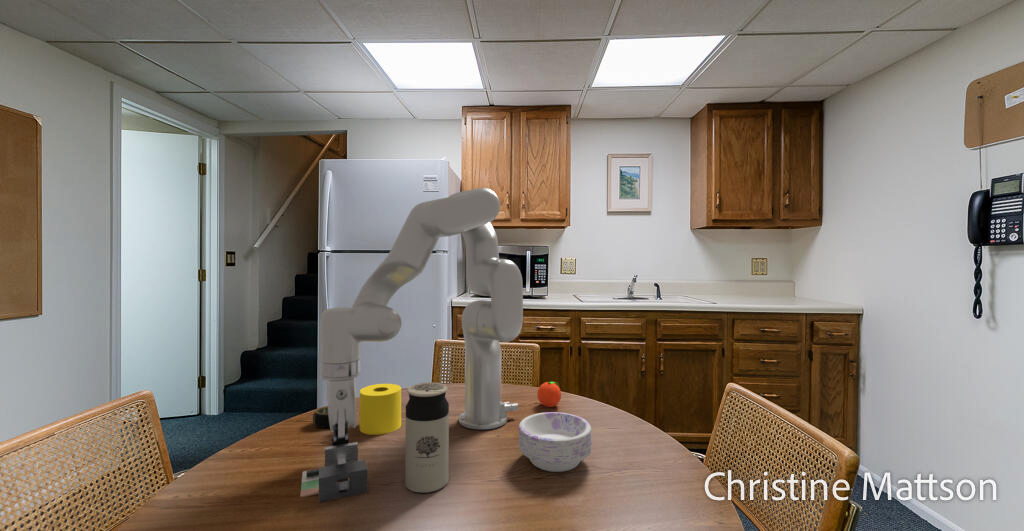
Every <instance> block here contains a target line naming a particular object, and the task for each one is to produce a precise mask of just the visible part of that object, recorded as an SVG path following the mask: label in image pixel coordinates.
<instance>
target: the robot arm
mask: <svg viewBox="0 0 1024 531" xmlns="http://www.w3.org/2000/svg"><path fill="white" fill-rule="evenodd" d="M500 211H501V202H500V198H499V197H498V195H497V194H496V193H495V191H493V189H490V188H487V187H479V188H474V189H468V190H464V191H458V192H455V193H452V194H451V195H449V196H447V197H443V198H438V199H432V200H428V201H427V200H426V201H422V202H420V203H417V204H416V205H414V207H413V208H412V209H411V211H409V214H408V215H407V218H406V219H405V221H404V223H403V226H402V228H401V229H400V232H399V233H398V235H397V238H396V239H395V241H394V243H393V245H392V247H391V249H390V250H389V253H388V254H387V256H386V257H385V259H383V261H382V262H381V263H379V265H378V267H377V268H376V269H375V270H374V271H373V273H372V274H371V275H369V277H368V279H366V281H365V282H364V284H363V286H362V287H361V288H360V291H359V293H358V295H357V296H356V298H355V300H354V302H353V304H352V305H351V307H346V306H345V307H342V306H341V307H333V308H326V309H325V310H324V311H322V312H321V315H320V379H321V380H323V381H326V385H327V386H326V394H327V395H326V396H327V397H326V399H327V400H326V401H327V402H326V403H327V407H328V416H329V424H330V426H329V429H330V431H332V432H333V433H332V438H331V446H336V445H342V444H348V443H350V436H349V428H352V429H355V428H356V427H357V396H356V395H357V392H356V390H357V389H356V388H357V386H356V378H357V377H359V376H360V375H361V342H376V343H381V342H387V341H389V340H392V339H394V338H395V337H396V336H397V335H398V334H399V333H400V331H401V328H402V318H401V316H400V314H399V312H397V311H396V310H395V309H393V308H392V307H390V306H388V305H389V303H390V301H391V299H392V298H393V296H394V295H395V294H396V293H397V291H399V290H400V289H401V288H402V287H403V286H405V285H406V284H408V283H409V282H411V281H412V280H415V279H416V278H418V277H419V276H420V275H421V274H422V273H423V272H424V271H425V268H426V266H427V263H428V261H429V259H430V257H431V256H432V253H433V251H434V249H435V247H436V245H437V243H438V241H439V238H442V237H443V238H444V237H445V238H446V237H452V236H455V235H459V234H462V237H463V239H464V244H465V260H466V261H465V263H466V264H465V265H466V266H465V270H466V274H465V275H466V276H465V278H466V285H467V288H468V290H469V291H470V292H471V293H473V294H474V295H478V296H483V297H486V296H487V297H490V300H485V299H482V300H479V299H478V300H474V301H472V302H469V304H467V305H466V306H465V308H464V309H463V311H462V315H461V327H462V332H463V334H462V335H463V339H464V362H465V363H464V364H465V365H464V412H462V413H460V414H459V416H458V423H459V424H460V425H461V426H463V427H464V428H468V429H472V430H479V431H480V430H481V431H482V430H493V429H496V428H500V427H502V426H503V425H505V424H506V423H507V421H508V417H507V416H508V415H507V414H508V412H514V411H515V412H516V411H519V403H517V402H513V403H512V402H511V403H510V401H502V348H501V344H500V342H501V343H502V342H503V343H504V342H505V343H507V342H511V341H514V340H515V339H516V338H517V337H519V335H520V333H521V331H522V328H523V323H524V295H523V294H524V291H523V290H524V288H523V287H524V285H523V283H524V282H523V276H522V273H521V270H520V269H519V267H518V265H517V264H516V263H515V262H513V261H512V260H510V259H505V258H500V255H499V254H500V252H499V240H498V235H497V232H496V230H495V228H494V226H493V224H492V222H493V221H494V220H496V218H497V217H498V215H499V213H500Z"/></svg>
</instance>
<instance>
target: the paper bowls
mask: <svg viewBox="0 0 1024 531" xmlns="http://www.w3.org/2000/svg"><path fill="white" fill-rule="evenodd" d="M592 430H593V429H592V426H591V424H590V422H588V420H586V419H585V418H583V417H581V416H579V415H578V416H577V415H575V414H570V413H566V412H557V411H556V412H555V411H551V412H549V411H547V412H546V411H545V412H539V413H534V414H531V415H527V417H524V418H522V420H521V421H520V422H519V424H518V449H519V451H520V453H521V454H522V455H523V456H524V457H526V458H528V459H529V461H530V462H531V464H532V465H533V466H535V467H536V468H538V469H540V470H543V471H545V472H546V471H547V472H551V473H559V472H560V473H561V472H562V473H563V472H566V471H571V470H573V469H575V468H576V467H577V466H578V465H579V464H580V462H582V461H583V460H585V459H586V458H588V457H589V456H590V454H591V453H592V449H593V448H592V444H593V442H592V440H593V439H592Z"/></svg>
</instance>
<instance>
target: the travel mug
mask: <svg viewBox="0 0 1024 531" xmlns="http://www.w3.org/2000/svg"><path fill="white" fill-rule="evenodd" d="M447 391H448V386H447V385H446V384H444V383H441V382H420V383H416V384H415V383H414V384H413V385H410V386H409V387H408V388H407V390H406V392H407V394H408V397H409V398H408V401H407V402H406V405H405V482H404V483H405V487H406V488H407V489H408V490H410V491H412V492H415V493H427V494H428V493H432V492H436V491H438V490H441V489H442V488H444V487H445V486H446V485H447V484H448V483H449V474H450V473H449V460H450V459H449V450H450V449H449V445H450V444H449V439H450V438H449V435H450V434H449V432H450V430H449V428H450V427H449V425H450V424H449V423H450V422H449V421H450V417H449V416H450V412H449V411H450V404H449V401H448V400H447V398H446V395H447V394H446V393H447Z"/></svg>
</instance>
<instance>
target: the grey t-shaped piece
mask: <svg viewBox="0 0 1024 531" xmlns="http://www.w3.org/2000/svg"><path fill="white" fill-rule="evenodd" d="M355 461H359V443H358V441H356V442H349V443H348V444H342V445H336V446H332V445H330V446H325V447H324V467H327V466H333V465H338V464H344V463H349V462H355ZM306 471H307V477H313V476H318V475H319V468H316V469H315V468H314V469H311V470H310V471H309V470H306ZM348 480H349V478H345V479H340V480H338V482H339V490H344V489H348Z"/></svg>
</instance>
